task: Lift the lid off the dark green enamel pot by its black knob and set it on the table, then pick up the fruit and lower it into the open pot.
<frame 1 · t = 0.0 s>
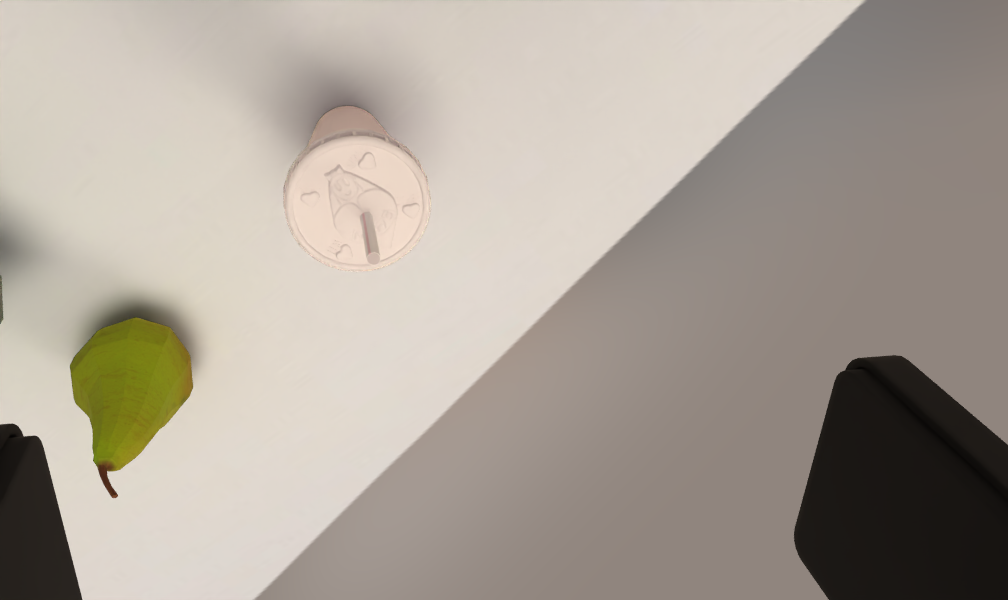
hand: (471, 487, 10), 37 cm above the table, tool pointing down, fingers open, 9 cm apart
fruit: (142, 346, 48), on the table
smoothie: (348, 138, 45), on the table
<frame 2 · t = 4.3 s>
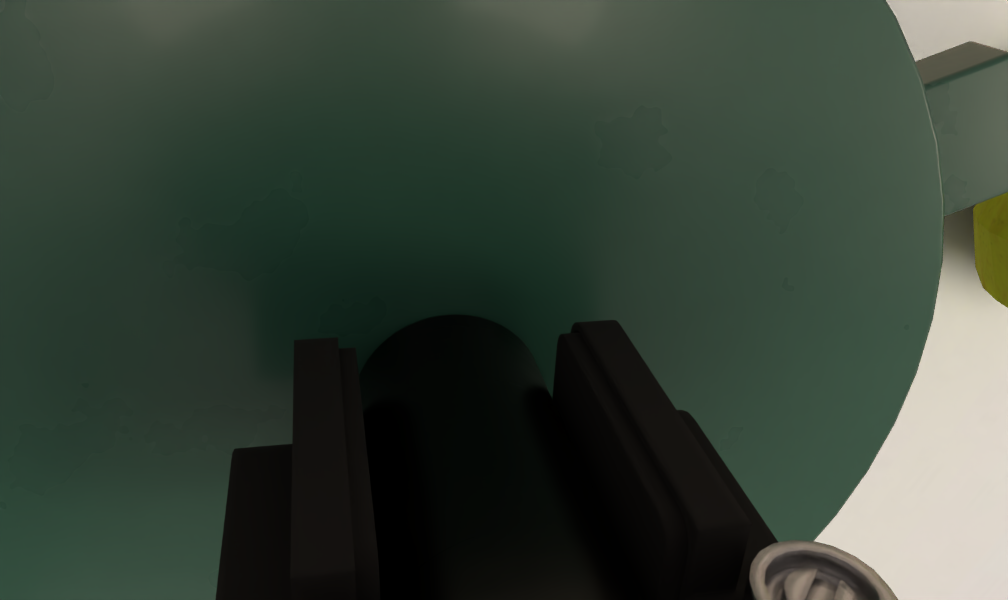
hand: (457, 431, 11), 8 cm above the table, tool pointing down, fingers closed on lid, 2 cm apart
pot: (395, 197, 18), on the table
lid: (441, 370, 12), point 7 cm above the table, touching gripper, pot
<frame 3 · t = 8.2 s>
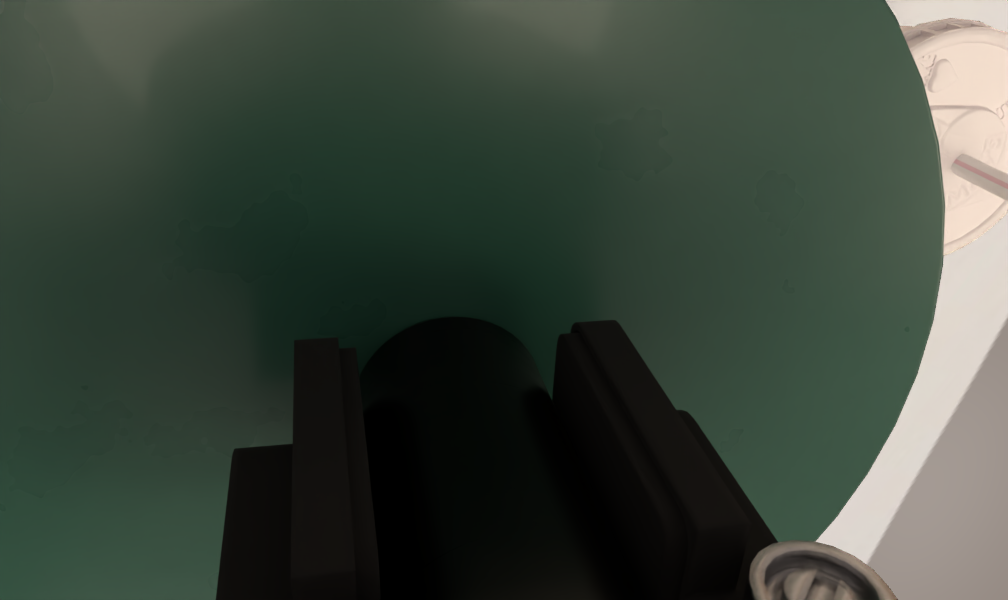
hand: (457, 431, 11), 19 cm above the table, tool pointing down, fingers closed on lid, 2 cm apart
smoothie: (763, 67, 30), on the table
lid: (441, 372, 12), point 17 cm above the table, touching gripper
when the fingers open (2 cm above the table, at t = 12.0 s): lid stays where it is, point 1 cm above the table.
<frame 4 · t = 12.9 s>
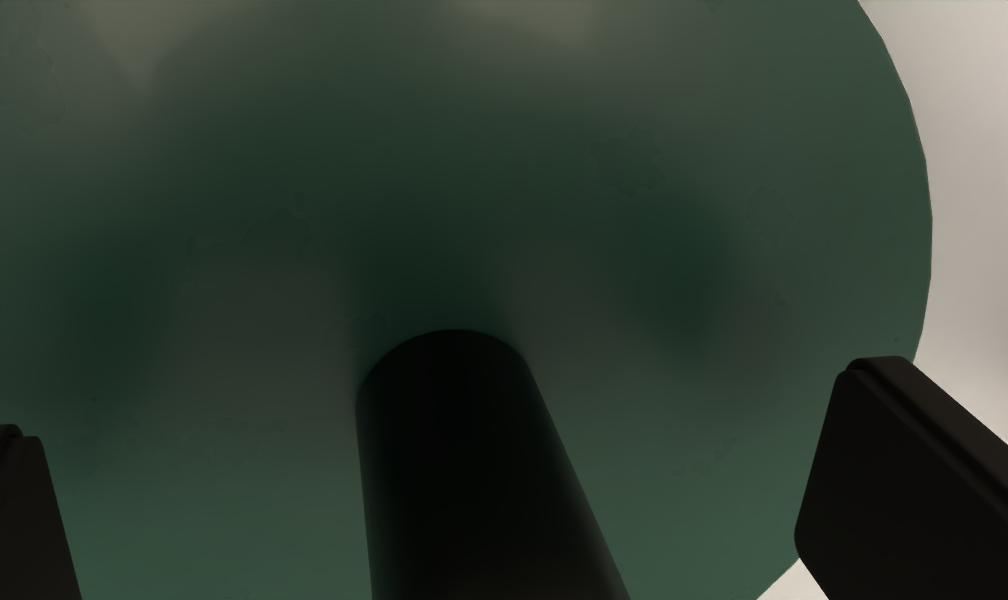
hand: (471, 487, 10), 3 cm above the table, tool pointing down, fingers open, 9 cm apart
lid: (441, 382, 13), point 1 cm above the table
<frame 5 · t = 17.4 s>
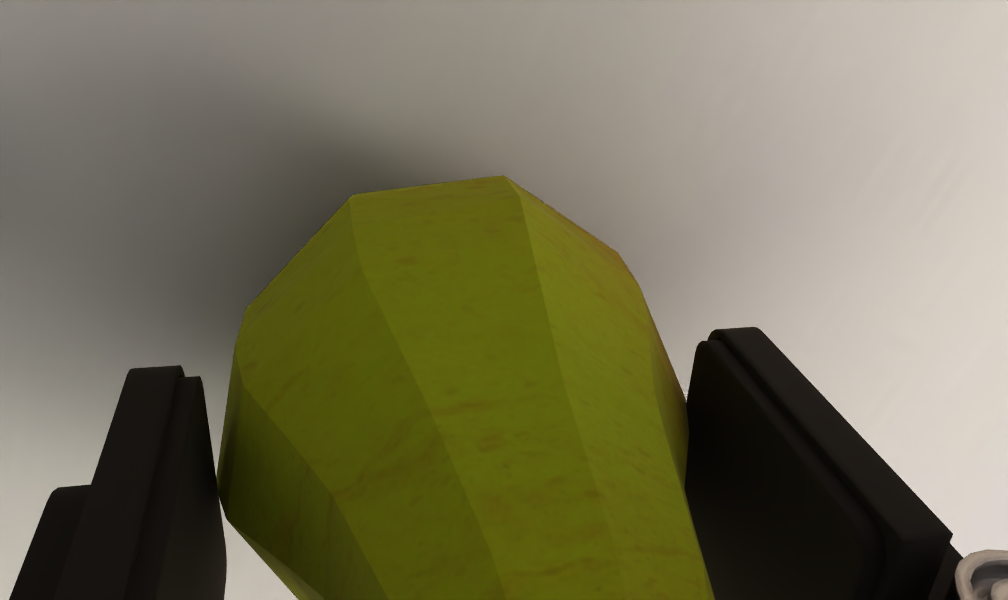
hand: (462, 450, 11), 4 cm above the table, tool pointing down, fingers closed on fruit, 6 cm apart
fruit: (427, 307, 14), on the table, touching gripper
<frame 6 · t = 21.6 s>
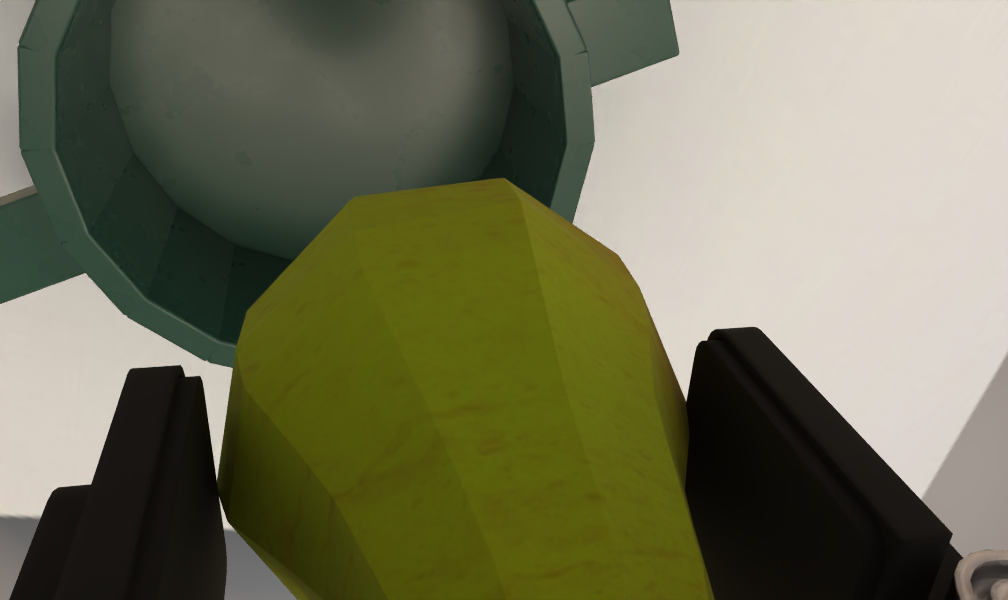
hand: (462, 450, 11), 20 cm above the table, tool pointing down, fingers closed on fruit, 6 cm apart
fruit: (428, 308, 14), point 16 cm above the table, touching gripper
pot: (321, 80, 27), on the table
when the fingers open (4 cm above the table, at t = 25.7 s): fruit stays where it is, resting on pot.
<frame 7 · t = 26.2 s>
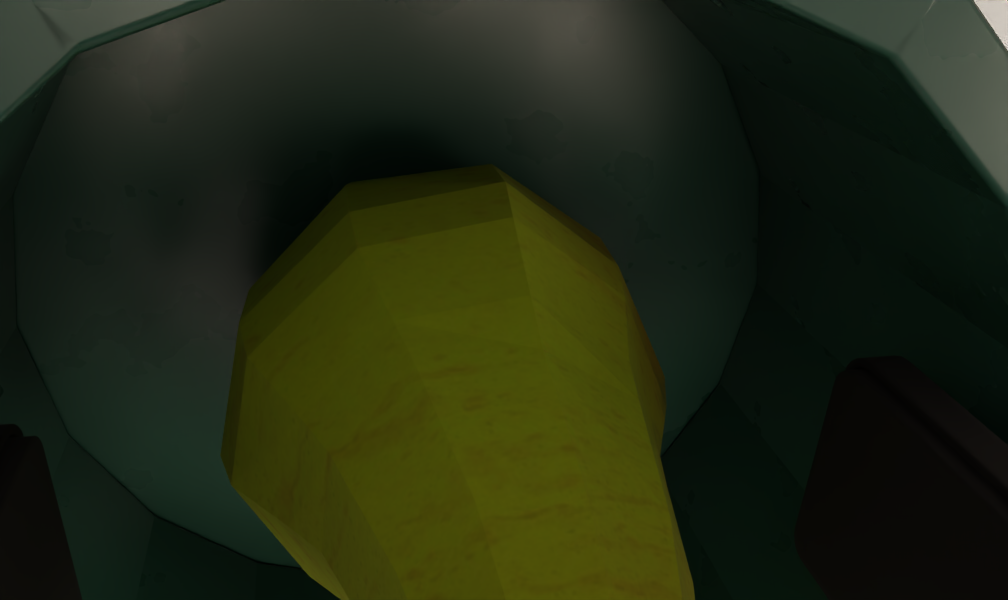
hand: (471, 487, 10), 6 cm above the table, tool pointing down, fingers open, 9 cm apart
fruit: (422, 293, 15), resting on pot
pot: (416, 288, 15), on the table
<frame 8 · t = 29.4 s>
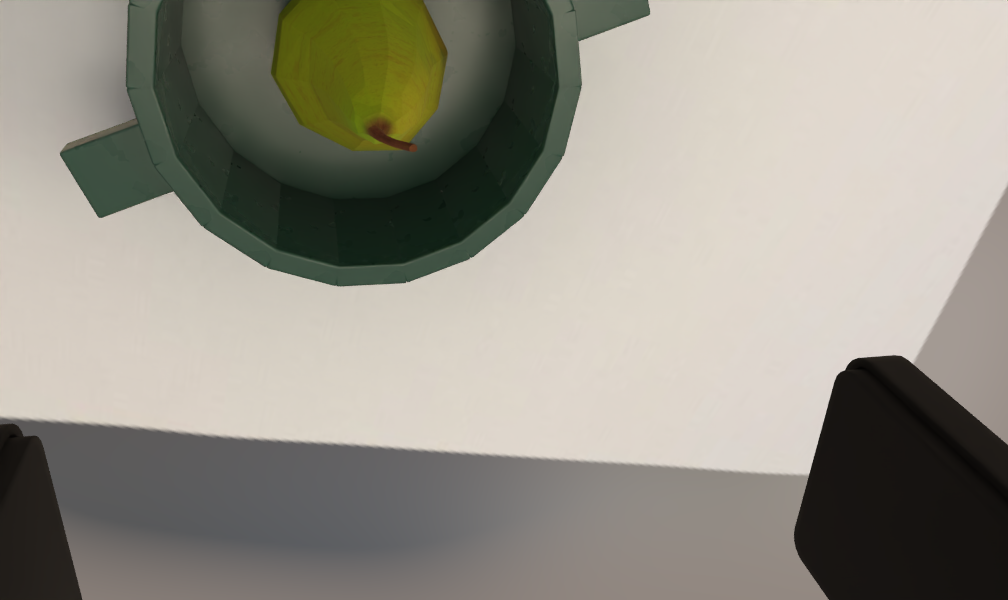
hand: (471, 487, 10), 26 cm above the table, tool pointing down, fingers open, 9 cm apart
fruit: (356, 42, 33), resting on pot
pot: (354, 42, 33), on the table
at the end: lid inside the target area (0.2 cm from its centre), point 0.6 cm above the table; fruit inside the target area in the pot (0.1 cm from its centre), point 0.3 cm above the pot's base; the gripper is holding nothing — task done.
